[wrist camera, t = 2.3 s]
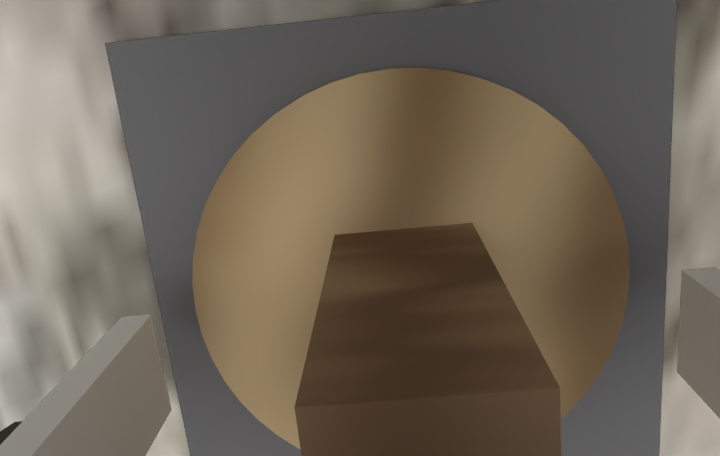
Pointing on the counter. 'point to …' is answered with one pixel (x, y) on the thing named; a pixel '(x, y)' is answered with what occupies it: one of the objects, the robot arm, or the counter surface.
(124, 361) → the robot arm
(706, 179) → the counter surface
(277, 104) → the mat
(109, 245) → the counter surface
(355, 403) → the lid
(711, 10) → the counter surface
